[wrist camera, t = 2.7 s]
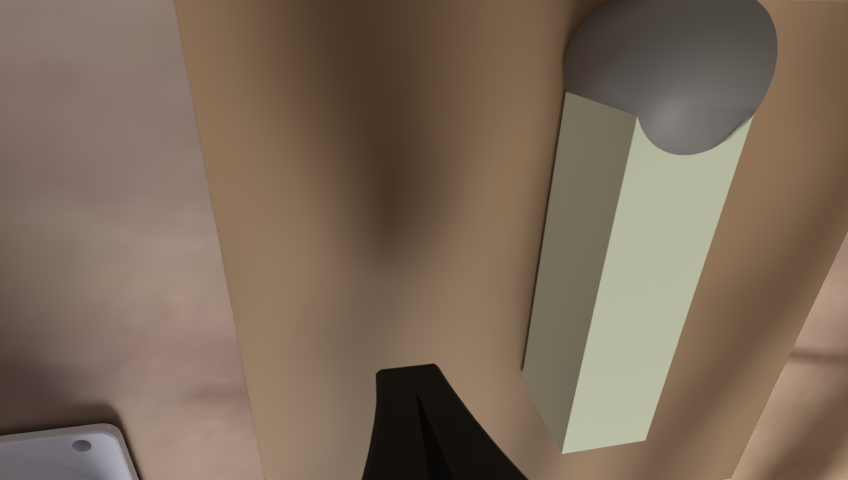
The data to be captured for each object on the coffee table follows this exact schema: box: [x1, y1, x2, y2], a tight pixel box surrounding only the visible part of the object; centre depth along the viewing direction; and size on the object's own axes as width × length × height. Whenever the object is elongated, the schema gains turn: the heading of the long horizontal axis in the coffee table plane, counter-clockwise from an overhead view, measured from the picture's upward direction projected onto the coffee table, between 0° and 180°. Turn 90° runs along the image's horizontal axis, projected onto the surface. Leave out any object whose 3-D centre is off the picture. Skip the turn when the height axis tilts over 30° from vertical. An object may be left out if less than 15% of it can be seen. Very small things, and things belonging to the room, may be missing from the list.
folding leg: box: [522, 0, 778, 454], centre depth 11 cm, size 11×3×3 cm, turn 178°
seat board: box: [174, 0, 848, 480], centre depth 15 cm, size 19×21×2 cm
